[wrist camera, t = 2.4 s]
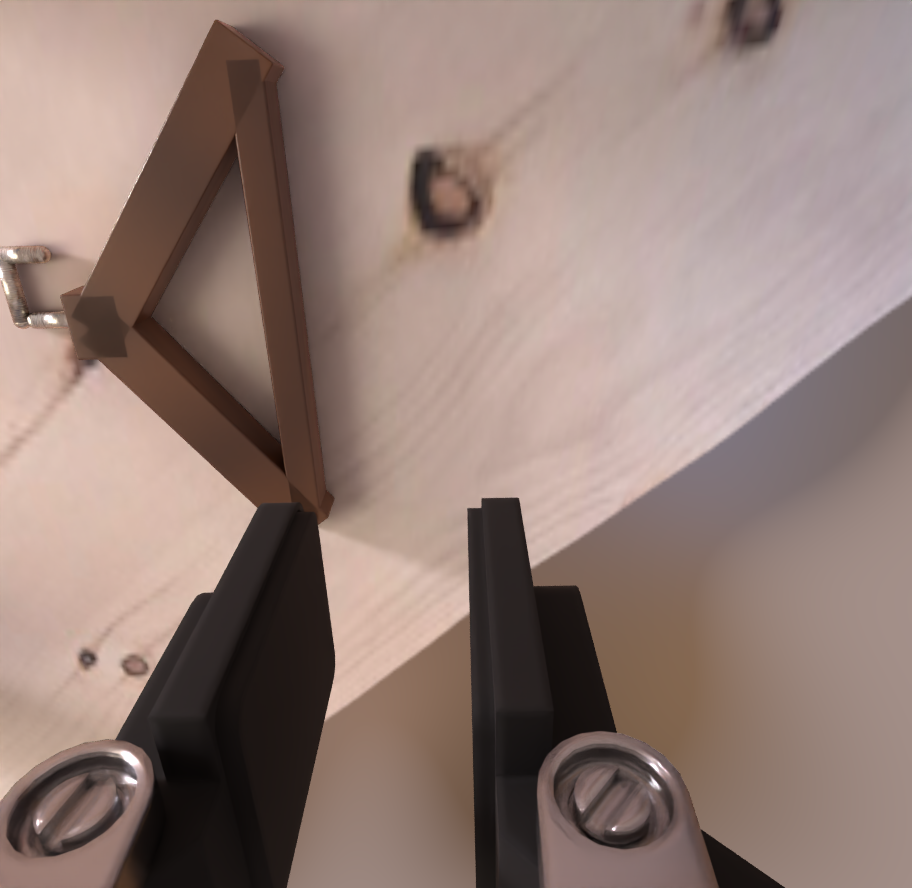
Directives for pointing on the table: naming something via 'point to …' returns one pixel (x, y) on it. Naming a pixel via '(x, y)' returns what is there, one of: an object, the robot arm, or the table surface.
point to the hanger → (157, 257)
